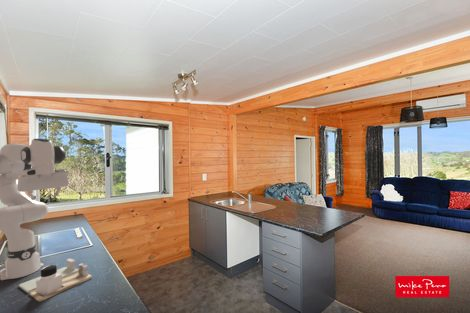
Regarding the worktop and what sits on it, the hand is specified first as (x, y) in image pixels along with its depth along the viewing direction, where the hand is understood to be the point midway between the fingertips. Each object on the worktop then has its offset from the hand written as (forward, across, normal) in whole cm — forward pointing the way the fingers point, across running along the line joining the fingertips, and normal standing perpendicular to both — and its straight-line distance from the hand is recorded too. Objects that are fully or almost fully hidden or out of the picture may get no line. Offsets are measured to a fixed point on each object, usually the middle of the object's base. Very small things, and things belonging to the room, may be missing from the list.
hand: (45, 197), depth 117 cm
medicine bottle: (+45, +2, +6) cm, 45 cm away
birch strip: (+45, -2, +6) cm, 45 cm away
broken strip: (+45, -2, -8) cm, 45 cm away
